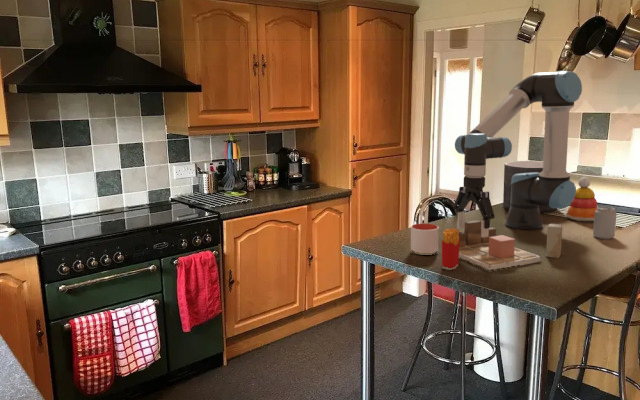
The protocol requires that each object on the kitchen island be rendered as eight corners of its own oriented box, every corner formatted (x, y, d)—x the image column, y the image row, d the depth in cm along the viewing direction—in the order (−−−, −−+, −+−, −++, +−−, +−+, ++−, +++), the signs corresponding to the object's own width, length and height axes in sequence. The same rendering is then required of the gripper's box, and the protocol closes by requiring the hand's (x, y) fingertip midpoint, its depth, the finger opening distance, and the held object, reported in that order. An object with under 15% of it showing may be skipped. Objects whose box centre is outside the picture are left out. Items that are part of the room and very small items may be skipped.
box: (558, 258, 180) (560, 227, 178) (545, 256, 182) (547, 226, 180) (560, 254, 184) (562, 224, 182) (547, 252, 187) (549, 223, 185)
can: (617, 240, 199) (619, 210, 197) (596, 239, 201) (598, 209, 199) (610, 235, 207) (613, 205, 204) (590, 234, 208) (592, 205, 206)
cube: (488, 253, 181) (489, 237, 180) (501, 251, 183) (502, 235, 182) (500, 258, 175) (501, 241, 174) (514, 255, 178) (515, 239, 176)
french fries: (450, 272, 170) (451, 233, 167) (438, 269, 172) (439, 232, 170) (461, 264, 177) (462, 227, 174) (449, 262, 179) (450, 226, 177)
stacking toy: (589, 215, 240) (593, 173, 237) (607, 222, 226) (611, 178, 223) (559, 216, 240) (562, 174, 236) (575, 223, 226) (578, 179, 222)
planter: (566, 207, 256) (569, 163, 252) (540, 216, 241) (543, 169, 236) (519, 200, 276) (521, 159, 271) (492, 208, 260) (494, 164, 256)
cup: (422, 258, 184) (422, 231, 182) (405, 251, 193) (405, 225, 191) (444, 254, 189) (444, 227, 187) (426, 247, 198) (426, 222, 196)
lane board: (445, 252, 191) (445, 247, 190) (492, 244, 199) (492, 239, 199) (489, 271, 169) (489, 266, 169) (540, 261, 177) (540, 256, 177)
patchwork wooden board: (448, 249, 191) (448, 233, 189) (491, 242, 198) (491, 227, 197) (489, 266, 171) (489, 249, 169) (534, 258, 178) (535, 241, 177)
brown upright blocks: (463, 246, 193) (464, 222, 191) (476, 244, 195) (477, 220, 193) (505, 263, 173) (507, 236, 171) (519, 260, 175) (520, 233, 174)
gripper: (445, 172, 198) (443, 226, 202) (489, 181, 175) (487, 241, 179) (461, 171, 201) (459, 224, 205) (507, 180, 178) (504, 239, 182)
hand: (472, 232), depth 192 cm, fingers open, 13 cm apart
